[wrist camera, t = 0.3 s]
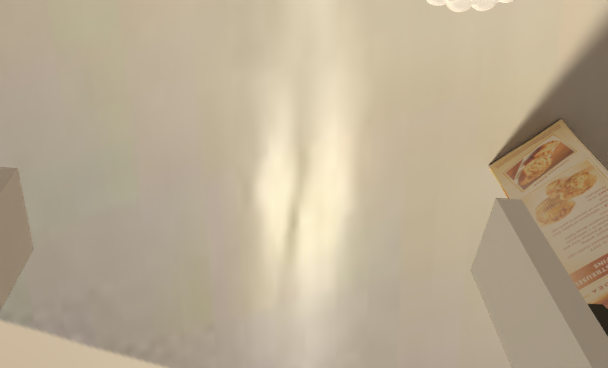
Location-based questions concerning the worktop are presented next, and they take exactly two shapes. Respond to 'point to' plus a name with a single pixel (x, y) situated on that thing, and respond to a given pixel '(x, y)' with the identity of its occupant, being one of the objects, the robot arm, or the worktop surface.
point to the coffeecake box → (564, 202)
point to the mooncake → (467, 4)
